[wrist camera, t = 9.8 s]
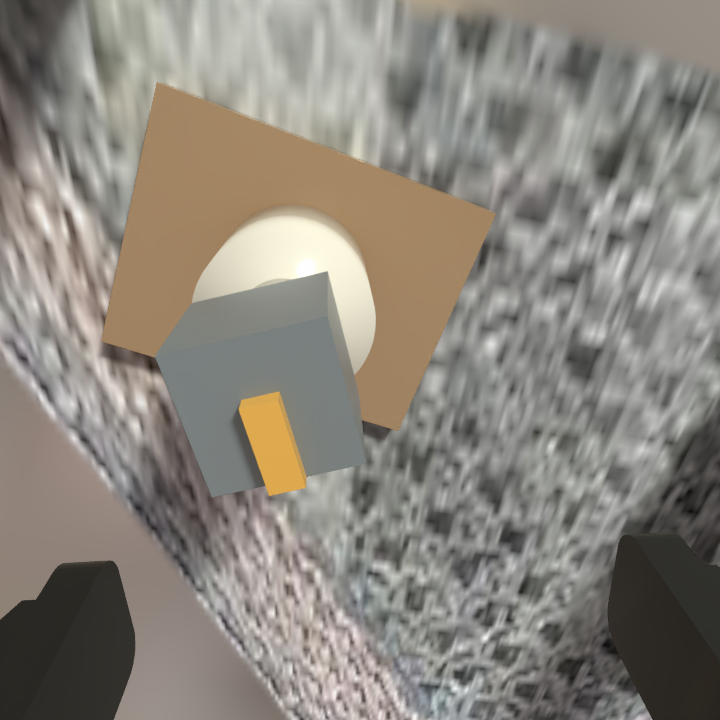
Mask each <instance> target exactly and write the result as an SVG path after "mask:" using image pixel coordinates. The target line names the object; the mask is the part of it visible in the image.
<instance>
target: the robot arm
mask: <svg viewBox="0 0 720 720" xmlns="http://www.w3.org/2000/svg"><path fill="white" fill-rule="evenodd" d="M608 622H609V628H610V632H611V636H612V639H613V642H614V645H615V647H616V649H617V652H618V653H619V655H620V657H621V659H622V661H623V663H624V665H625V667H626V669H627V671H628V673H629V675H630V677H631V679H632V681H633V683H634V684H635V686H636V688H637V690H638V692H639V694H640V696H641V698H642V700H643V702H644V704H645V706H646V708H647V710H648V712H649V714H650V715H651V717H652V719H653V720H720V567H718V566H717V565H703V564H702V563H701V561H700V560H699V559H698V558H697V556H696V555H695V554H694V553H693V551H692V550H691V549H690V548H689V547H688V545H687V544H686V543H685V542H684V540H683V539H682V538H681V537H680V536H679V535H677V534H675V533H672V532H667V533H648V534H629V535H624V536H622V538H621V539H620V541H619V545H618V550H617V556H616V561H615V567H614V573H613V579H612V585H611V591H610V596H609V602H608ZM134 655H135V633H134V628H133V624H132V620H131V616H130V612H129V609H128V605H127V601H126V597H125V593H124V589H123V585H122V582H121V578H120V574H119V570H118V567H117V565H116V564H115V563H114V562H113V561H94V562H76V563H63V564H61V565H59V566H58V567H57V568H56V569H55V571H54V572H53V573H52V575H51V576H50V578H49V580H48V581H47V583H46V585H45V586H44V588H43V589H42V591H41V593H40V594H39V596H38V597H37V599H36V600H24V601H21V602H20V603H19V604H18V605H17V606H15V607H14V608H13V609H12V610H11V611H10V612H9V613H8V614H6V615H5V616H4V617H3V618H2V619H1V620H0V720H114V717H115V715H116V712H117V709H118V707H119V704H120V701H121V698H122V696H123V693H124V690H125V688H126V685H127V682H128V679H129V677H130V674H131V671H132V667H133V661H134Z"/></svg>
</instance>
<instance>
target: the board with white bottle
mask: <svg viewBox="0 0 720 720" xmlns="http://www.w3.org/2000/svg"><path fill="white" fill-rule="evenodd" d="M495 215H496V214H495V213H494V212H492V211H491V210H489V209H486V208H483V207H481V206H478V205H476V204H473V203H471V202H468V201H465V200H463V199H460V198H458V197H455V196H453V195H450V194H447V193H445V192H442V191H440V190H437V189H434V188H432V187H429V186H427V185H424V184H422V183H419V182H416V181H414V180H411V179H409V178H406V177H404V176H401V175H398V174H396V173H393V172H391V171H388V170H386V169H383V168H380V167H378V166H375V165H373V164H370V163H368V162H365V161H362V160H360V159H357V158H355V157H352V156H350V155H347V154H344V153H342V152H339V151H337V150H334V149H331V148H329V147H326V146H324V145H321V144H319V143H316V142H313V141H311V140H308V139H306V138H303V137H301V136H298V135H295V134H293V133H290V132H288V131H285V130H283V129H280V128H277V127H275V126H272V125H270V124H267V123H265V122H262V121H259V120H257V119H254V118H252V117H249V116H247V115H244V114H241V113H239V112H236V111H234V110H231V109H228V108H226V107H223V106H221V105H218V104H216V103H213V102H210V101H208V100H205V99H203V98H200V97H198V96H195V95H192V94H190V93H187V92H185V91H182V90H180V89H177V88H174V87H172V86H169V85H167V84H164V83H158V82H157V84H156V89H155V94H154V98H153V103H152V108H151V112H150V117H149V122H148V126H147V131H146V136H145V140H144V145H143V149H142V154H141V159H140V163H139V168H138V173H137V177H136V182H135V187H134V191H133V196H132V200H131V205H130V210H129V214H128V219H127V224H126V228H125V233H124V238H123V242H122V247H121V252H120V256H119V261H118V265H117V270H116V275H115V279H114V284H113V289H112V293H111V298H110V303H109V307H108V312H107V317H106V321H105V326H104V330H103V335H102V340H101V341H102V342H105V343H108V344H112V345H115V346H118V347H121V348H125V349H128V350H131V351H135V352H138V353H141V354H145V355H148V356H151V357H155V355H156V353H157V352H158V351H159V349H160V348H161V346H162V345H163V343H164V342H165V340H166V339H167V338H168V336H169V335H170V333H171V332H172V330H173V329H174V328H175V326H176V325H177V323H178V322H179V320H180V319H181V317H182V316H183V315H184V313H185V312H186V310H187V309H188V307H189V306H190V305H191V303H194V302H198V301H203V300H207V299H211V298H215V297H220V296H224V295H228V294H233V293H237V292H241V291H245V290H250V289H254V288H258V287H262V286H267V285H271V284H275V283H279V282H284V281H288V280H292V279H296V278H301V277H305V276H309V275H313V274H318V273H322V272H326V271H328V274H329V278H330V282H331V286H332V290H333V294H334V298H335V302H336V306H337V310H338V314H339V317H340V321H341V325H342V329H343V333H344V337H345V341H346V345H347V349H348V353H349V357H350V361H351V365H352V368H353V372H354V376H355V380H356V384H357V388H358V392H359V399H360V408H361V418H362V420H363V421H367V422H370V423H373V424H377V425H380V426H383V427H386V428H390V429H393V430H396V431H398V430H399V428H400V425H401V423H402V421H403V419H404V417H405V414H406V412H407V410H408V408H409V406H410V403H411V401H412V399H413V397H414V394H415V392H416V390H417V388H418V386H419V383H420V381H421V379H422V377H423V375H424V372H425V370H426V368H427V366H428V363H429V361H430V359H431V357H432V355H433V352H434V350H435V348H436V346H437V344H438V341H439V339H440V337H441V335H442V332H443V330H444V328H445V326H446V324H447V321H448V319H449V317H450V315H451V313H452V310H453V308H454V306H455V304H456V301H457V299H458V297H459V295H460V293H461V290H462V288H463V286H464V284H465V282H466V279H467V277H468V275H469V273H470V270H471V268H472V266H473V264H474V262H475V259H476V257H477V255H478V253H479V251H480V248H481V246H482V244H483V242H484V239H485V237H486V235H487V233H488V231H489V228H490V226H491V224H492V222H493V220H494V217H495Z"/></svg>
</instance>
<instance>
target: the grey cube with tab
mask: <svg viewBox="0 0 720 720" xmlns="http://www.w3.org/2000/svg"><path fill="white" fill-rule="evenodd" d="M155 358H156V361H157V363H158V365H159V368H160V370H161V373H162V375H163V378H164V380H165V383H166V385H167V388H168V390H169V393H170V395H171V398H172V400H173V403H174V405H175V408H176V410H177V412H178V415H179V417H180V420H181V422H182V425H183V427H184V430H185V432H186V435H187V437H188V440H189V442H190V445H191V447H192V450H193V452H194V455H195V457H196V459H197V462H198V464H199V467H200V469H201V472H202V474H203V477H204V479H205V482H206V484H207V487H208V489H209V492H210V494H211V497H216V496H221V495H226V494H230V493H235V492H239V491H244V490H248V489H253V488H258V487H262V486H266V488H267V491H268V494H269V496H271V495H275V494H280V493H284V492H289V491H294V490H298V489H303V488H306V477H308V476H312V475H317V474H321V473H326V472H331V471H335V470H340V469H344V468H349V467H353V466H358V465H362V464H366V456H365V446H364V437H363V427H362V418H361V408H360V399H359V392H358V388H357V384H356V380H355V376H354V372H353V368H352V365H351V361H350V357H349V353H348V349H347V345H346V341H345V337H344V333H343V329H342V325H341V321H340V317H339V314H338V310H337V306H336V302H335V298H334V294H333V290H332V286H331V282H330V278H329V274H328V271H326V272H322V273H318V274H313V275H309V276H305V277H301V278H296V279H292V280H288V281H284V282H279V283H275V284H271V285H267V286H262V287H258V288H254V289H250V290H245V291H241V292H237V293H233V294H228V295H224V296H220V297H215V298H211V299H207V300H203V301H198V302H194V303H191V305H190V306H189V307H188V309H187V310H186V312H185V313H184V315H183V316H182V317H181V319H180V320H179V322H178V323H177V325H176V326H175V328H174V329H173V330H172V332H171V333H170V335H169V336H168V338H167V339H166V340H165V342H164V343H163V345H162V346H161V348H160V349H159V351H158V352H157V353H156V355H155Z"/></svg>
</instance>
